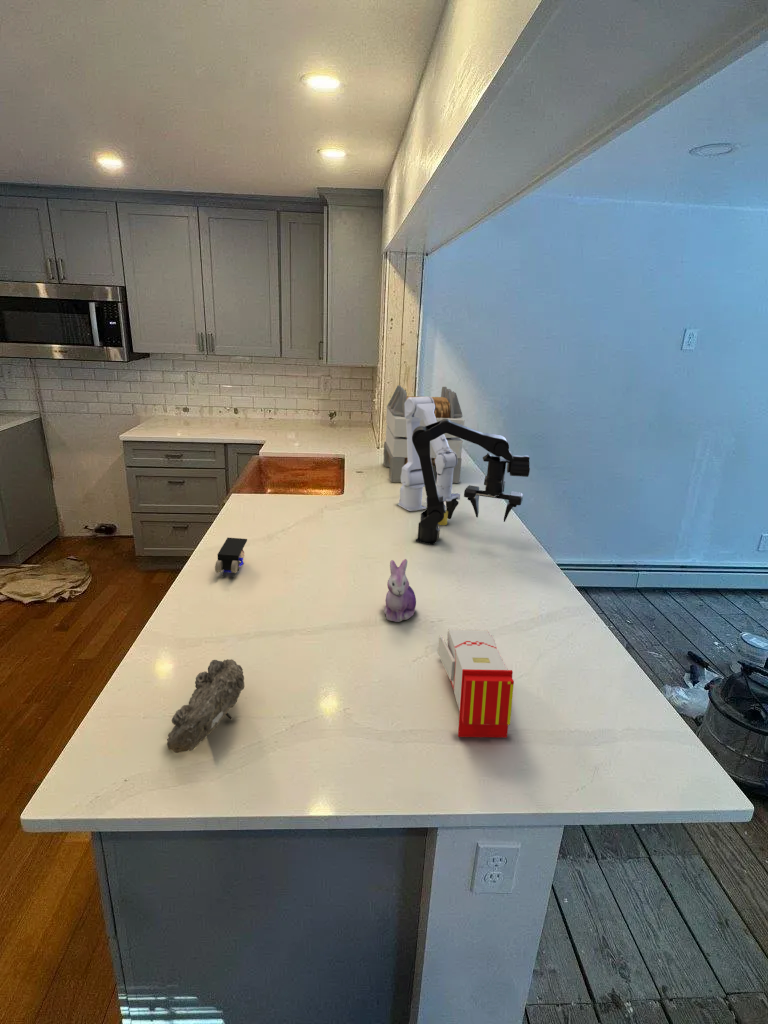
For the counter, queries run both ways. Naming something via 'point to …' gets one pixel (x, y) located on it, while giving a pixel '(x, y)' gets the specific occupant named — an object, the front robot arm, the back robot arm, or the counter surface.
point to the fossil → (206, 705)
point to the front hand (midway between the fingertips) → (490, 519)
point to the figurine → (399, 594)
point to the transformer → (397, 430)
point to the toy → (478, 682)
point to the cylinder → (444, 519)
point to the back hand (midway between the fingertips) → (441, 519)
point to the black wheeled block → (230, 556)
